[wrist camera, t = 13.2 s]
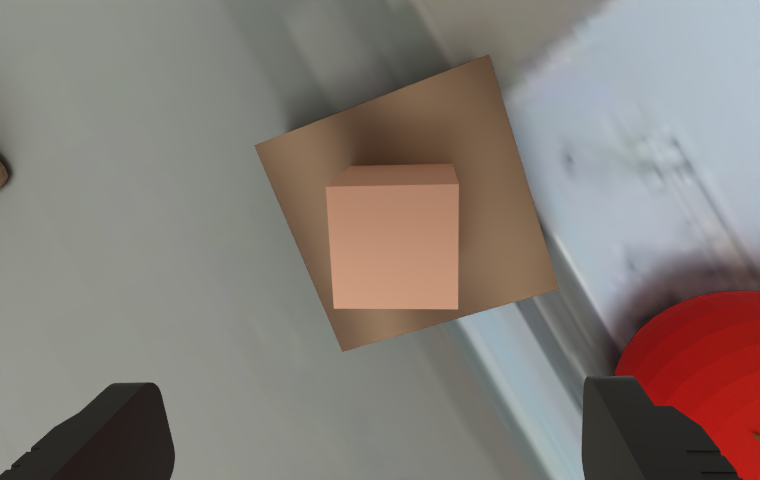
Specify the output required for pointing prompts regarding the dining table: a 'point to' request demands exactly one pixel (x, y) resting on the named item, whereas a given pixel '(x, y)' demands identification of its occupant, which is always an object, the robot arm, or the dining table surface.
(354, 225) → the terracotta block
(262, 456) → the dining table surface
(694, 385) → the tomato
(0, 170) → the wooden block
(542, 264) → the walnut block
